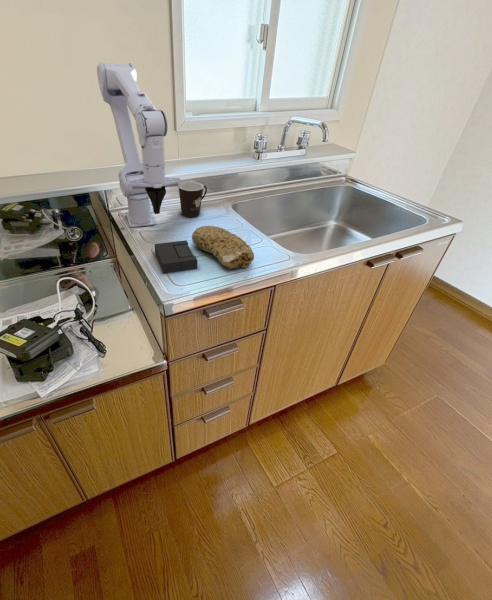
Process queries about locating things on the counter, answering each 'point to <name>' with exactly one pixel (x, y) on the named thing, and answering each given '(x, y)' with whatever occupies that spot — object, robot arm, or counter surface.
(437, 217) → the counter surface
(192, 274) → the counter surface
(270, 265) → the counter surface
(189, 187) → the coffee mug
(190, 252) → the pad piece
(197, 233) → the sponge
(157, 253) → the base pad
